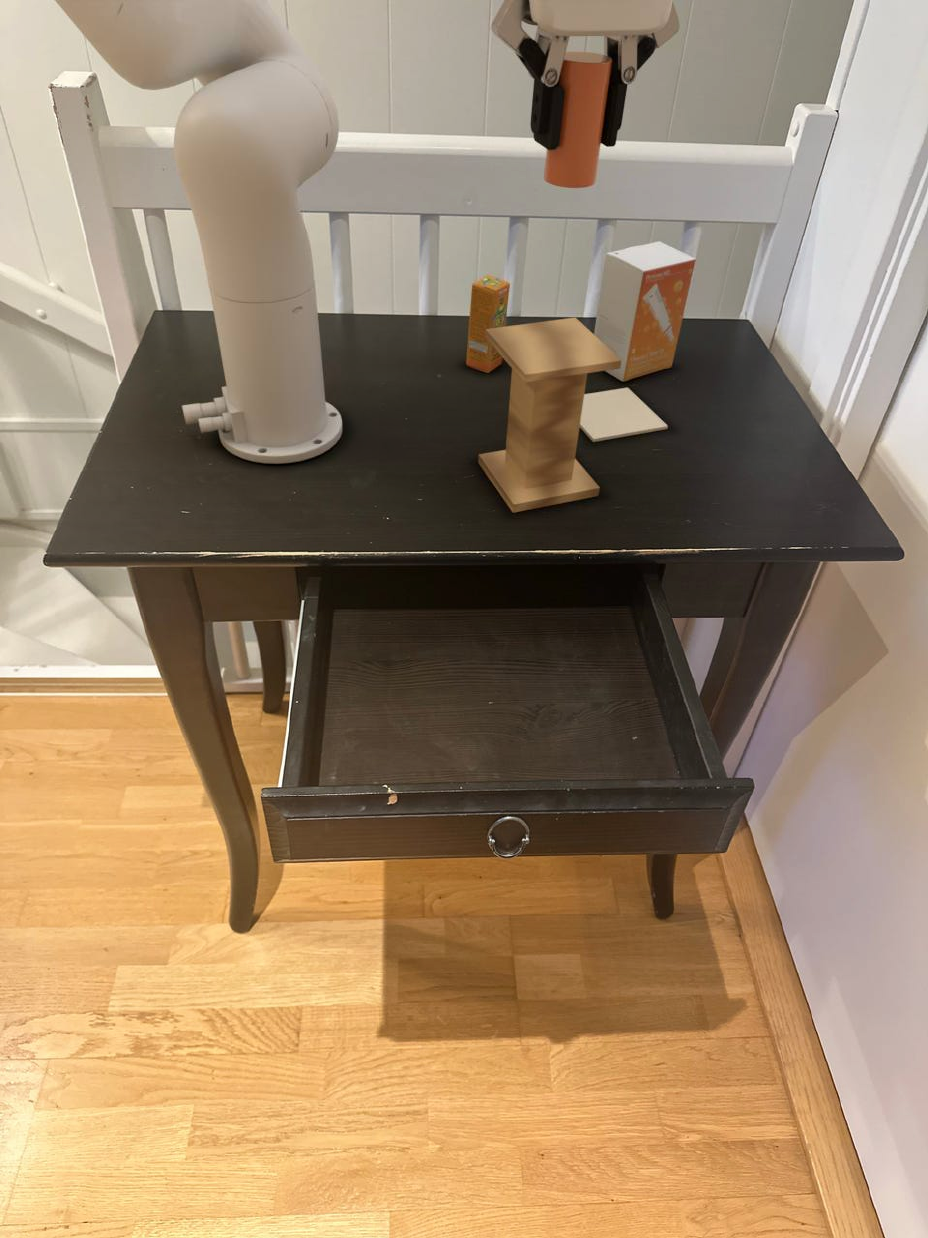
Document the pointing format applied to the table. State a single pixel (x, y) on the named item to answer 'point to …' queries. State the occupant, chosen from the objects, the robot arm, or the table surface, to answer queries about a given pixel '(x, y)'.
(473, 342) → the supplement box
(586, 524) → the table surface
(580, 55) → the orange cylinder
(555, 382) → the birch stand
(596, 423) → the cream coaster
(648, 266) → the small box
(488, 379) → the table surface
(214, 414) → the robot arm
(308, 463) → the table surface
